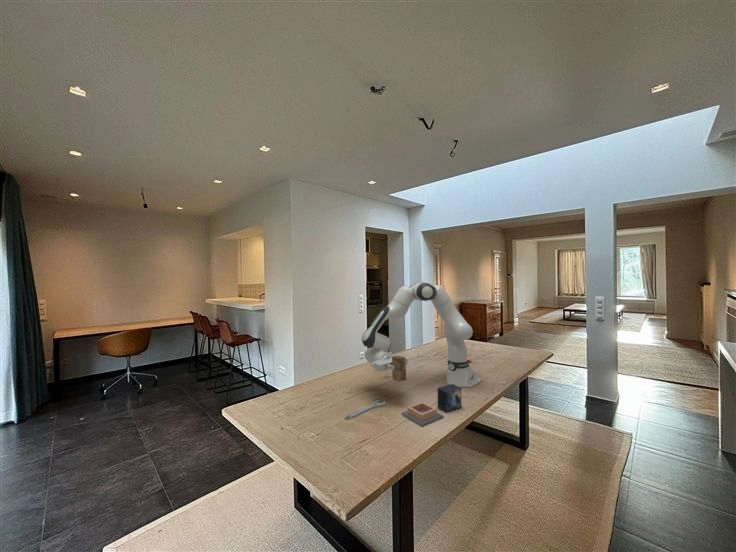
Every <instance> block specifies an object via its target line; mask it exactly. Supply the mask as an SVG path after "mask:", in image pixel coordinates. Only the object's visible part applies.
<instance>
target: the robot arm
mask: <svg viewBox="0 0 736 552" xmlns="http://www.w3.org/2000/svg"><path fill="white" fill-rule="evenodd" d="M415 300H417V301H424V302H427V301H430V302H431V303H432V305H433V307H434V308H435V311H436V312H437V314H438V315H439V317H440V318H441V320H442V321H443V323H442V329H443V331H444V333H445V334H444V335H445V338H446V339H445V340H446V343H447V351H448V359H447V365H448V366H447V370H446V371H447V373H446V377H445V380H446V384H448V385H451V384H454V385H456V386H458V387H460V388H465V387H466V388H472V387H474V386H475V385H477V384H479V383H481V381H482V378H480V377H478V373H477V371H476V370H475V368H473V367H471V365H470V364H472V363H473V362H472V360H471V359H468V349H467V348H468V347H467V346H466V345H467V344H465V341H466V340H469V339H471V338H472V336H473V333H474V330H473V328H472V326H471V325H470V324H469V323H468V322H467V320H465V318H464V317H463V315H462V314H461V313H460V312H459V310H458V309H457V307H456V305H455V304H454V302H453V300H452V298H451V296H450V295H449V293H448V292H447V291H446V289H445V287H443V286H442V285H440V284H435V285H431V284H430V283H429V282H421V281H420V282H414V283H413V284H412V285H409V286H406V285H404V286H400V288H399V289H397V291H396V293H395V294H394V296H393V298H392V300H391V301H390V303H389V304H388V305H387V306H383V307H382V308H381V309H380V311H379V313H378V314H377V315H376V317H374V318H373V320H372V322H371V324H370V325H369V326H368V328H366V330H365V331H364V332H363V333H362V336H361V343H362V344H363V346H364V347H366V348H367V349H365V352H364V358H365V360H366V361H367V362H368V363H370V366H371V367H373V369H374V370H376V371H378V372H382V371H385V370H392V369H393V370H394V369H396V366H395V365H392V356H397V355H401V356H404V357H405V358H406V366H407V365H408V364H409V359H408V357H407V356H405V355H403V354H398V353H397V352H390V350H391V348H392V347H391V345H392V343H391V339H390V337H388V336H386V335H385V334H382V333H380V332H378V331H379V330H380V329H381V327H382V326H383V324H384V323H385V321H386V320H389V319H400V318H403V317H405V316H406V314H407V313H408V311H409V309H410V306H411V305H412V303H413V302H414V301H415Z"/></svg>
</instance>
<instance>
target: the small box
mask: <svg viewBox="0 0 736 552" xmlns="http://www.w3.org/2000/svg"><path fill="white" fill-rule="evenodd" d="M462 407H463V406H462V387H458V386H456V385H454V384H451V385H449V384H448V385H444V386H443V385H442V386H438V387H437V409H439V410H440V411H442V412H444V413H449V412H453V410H454V411H456V409H457V410H460V408H461V409H462Z"/></svg>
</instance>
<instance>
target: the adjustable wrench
mask: <svg viewBox="0 0 736 552" xmlns="http://www.w3.org/2000/svg"><path fill="white" fill-rule="evenodd" d="M386 405H387V401H385V400H384V401H383V402H381V401H380V399H377V400H374V401H372V402H371V404H370V405H367V406H365V407H363V408H360V409H358V410H356V411H353V412H351V413H350V414H346V415H345V417H344V418H345V420H346V421H350V420H352V419H354V418H356V417H358V416H361V415H362V414H365V413H368V412H370V411H372V410H374V409H378V408H383V407H385V406H386Z"/></svg>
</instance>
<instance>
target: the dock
mask: <svg viewBox="0 0 736 552" xmlns="http://www.w3.org/2000/svg"><path fill="white" fill-rule="evenodd" d="M400 414H401V416H402V415H403V417H404V418H405V419H407V418H408V420H409V421H411V422H412V421H413V423H414V424H416V425H417V424H418V425H417V426H419V425H420V426H419V427H421V428H423V427H425V425H426V426H428V425H430V424H433V423H435V422H438V421H440V420H442V419H444V417H445V416H444V415H443V414H441V413H439V412H438V408H436V407H434V406H432V405H429V404H427V403H426V402H423V401H421V402H419V403H418V402H417V403H415V404H413V405H409V406H407V410H406V411H402V412H401V413H400ZM439 419H440V420H439ZM437 420H438V421H437Z"/></svg>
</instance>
